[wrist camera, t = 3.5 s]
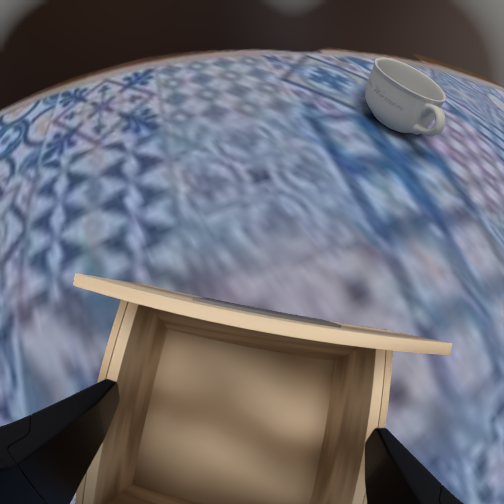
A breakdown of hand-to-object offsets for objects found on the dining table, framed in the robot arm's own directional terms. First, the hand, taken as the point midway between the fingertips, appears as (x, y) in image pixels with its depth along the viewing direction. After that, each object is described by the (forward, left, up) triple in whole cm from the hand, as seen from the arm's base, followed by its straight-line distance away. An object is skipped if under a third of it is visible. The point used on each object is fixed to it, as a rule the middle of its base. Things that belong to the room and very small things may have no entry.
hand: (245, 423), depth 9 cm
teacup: (+40, +6, -13) cm, 42 cm away
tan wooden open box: (-1, -1, -13) cm, 13 cm away
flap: (+3, +2, -1) cm, 4 cm away
